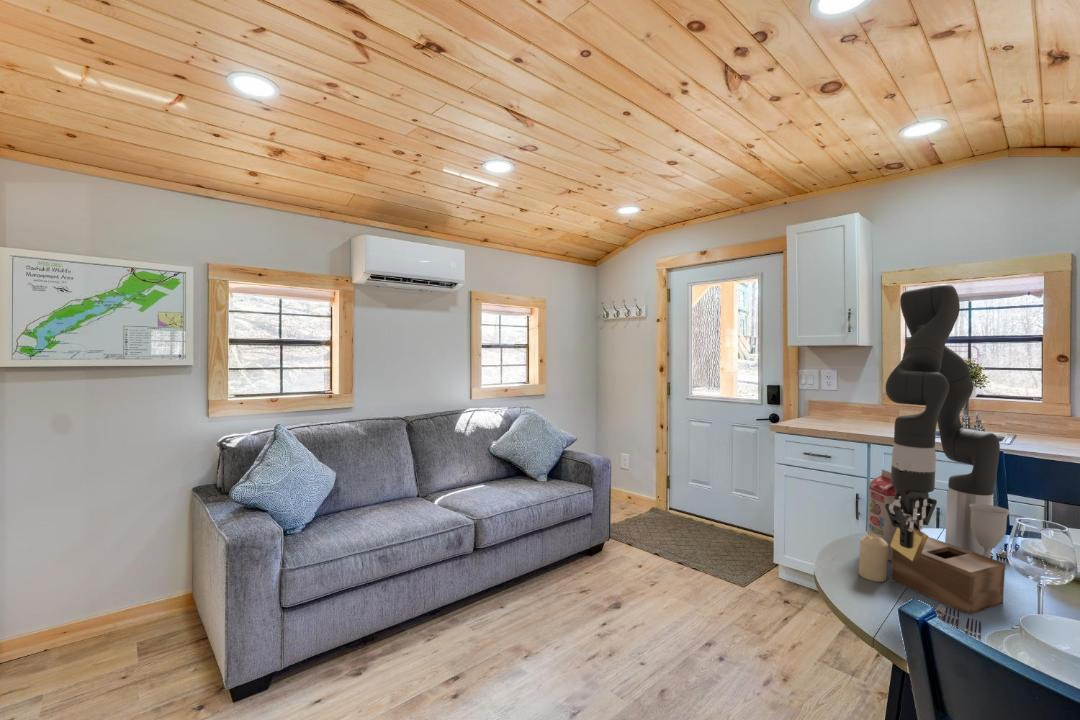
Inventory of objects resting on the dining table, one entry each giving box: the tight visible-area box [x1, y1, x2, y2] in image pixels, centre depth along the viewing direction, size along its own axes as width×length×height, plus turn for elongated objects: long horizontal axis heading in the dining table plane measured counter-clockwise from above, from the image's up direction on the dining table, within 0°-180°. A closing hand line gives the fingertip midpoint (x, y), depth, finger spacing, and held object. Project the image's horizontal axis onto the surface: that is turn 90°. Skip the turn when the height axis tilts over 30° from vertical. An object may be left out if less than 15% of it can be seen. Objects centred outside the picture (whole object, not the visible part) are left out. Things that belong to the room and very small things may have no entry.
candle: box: [858, 533, 888, 583], centre depth 124 cm, size 6×6×10 cm
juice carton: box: [866, 469, 908, 560], centre depth 136 cm, size 7×7×22 cm
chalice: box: [969, 504, 1011, 559], centre depth 121 cm, size 7×7×18 cm
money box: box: [890, 536, 1006, 615], centre depth 117 cm, size 12×16×9 cm
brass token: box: [890, 522, 929, 561], centre depth 110 cm, size 2×5×6 cm, turn 22°
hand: (909, 546), depth 110 cm, fingers closed on brass token, 1 cm apart
